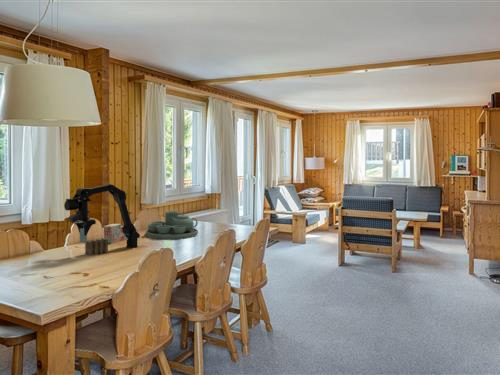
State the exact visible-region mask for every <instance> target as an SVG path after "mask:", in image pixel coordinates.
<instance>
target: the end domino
mask: <svg viewBox="0 0 500 375" xmlns="http://www.w3.org/2000/svg"><path fill="white" fill-rule="evenodd" d="M87 235H88V234H87ZM87 235H86V236H85V235H84V228H83V229H80V233H79V242H80V243H81V244H85V243H87V241H88V239H87V238H88V236H87Z"/></svg>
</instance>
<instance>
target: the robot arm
mask: <svg viewBox="0 0 500 375" xmlns="http://www.w3.org/2000/svg"><path fill="white" fill-rule="evenodd" d="M105 192H108V193H109V194H110V195H111V196H112V197H113V199H114V201H115V203H116V204H117V206H118V208H119V212H120V217H121V219H122V222H123V225H122V226H123V227H121V228H122V230H123V233H124V234H125V236H126V237H128V239H126V247H127V248H130V249H131V248H139V246H138V239H139V238H140V236H141V235H140V233H139V232H138V231H137V229H136V227H135V225H134V224H133V223H132V221H131V220H132V219H131V216H130V212H129V210H128V206H127V204H126V201H127V193H126V192H125V190H122V189H121V188H118V187H117V186H115V185H114V184H112V183H107V184H103V185H99V186H94V187H93V186H92V187H79V188H77V189H76V191H75V194H74V195H73V197H72V198H65V202H64V204H63V206H64V207H63V208H64V210H65V211H68V212H69V211H75V210H76V211H75V213H74V214H72V215H69V216H68V217H67V219H68V221H69V223H72V224H74V225H75V226H76V228H77V230H78V233H79V234H80V229H84V235H85V236H86V235H88V233H89V231H90V229H91V227H92V226H93V225H96V224H97V222H96V221H97V220H96V219H94V218H90V217H89V213H90V212H91V211H90V210H89V202H92V200H91V199H90V197H92V196H93V195H95V194H101V193H105Z"/></svg>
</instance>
